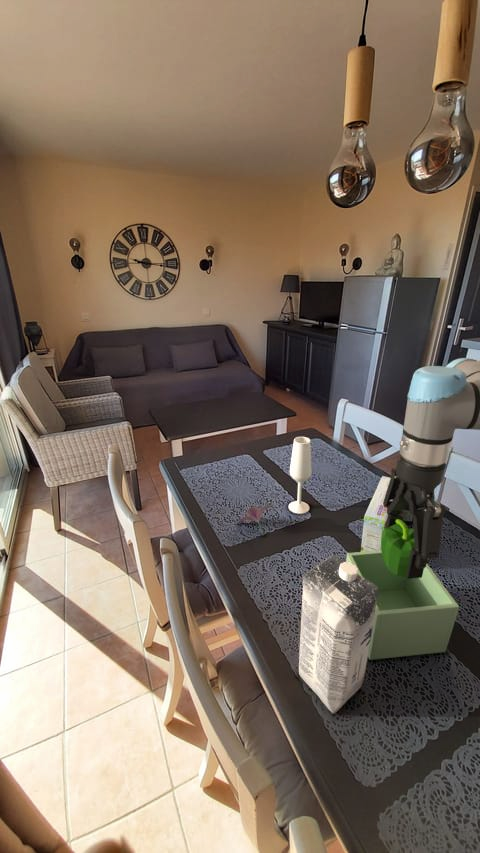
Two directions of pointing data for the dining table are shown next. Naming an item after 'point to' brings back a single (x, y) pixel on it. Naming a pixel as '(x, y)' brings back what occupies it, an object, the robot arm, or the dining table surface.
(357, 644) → the juice carton
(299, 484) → the champagne flute
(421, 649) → the open storage box
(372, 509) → the snack box
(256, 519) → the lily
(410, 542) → the bell pepper
